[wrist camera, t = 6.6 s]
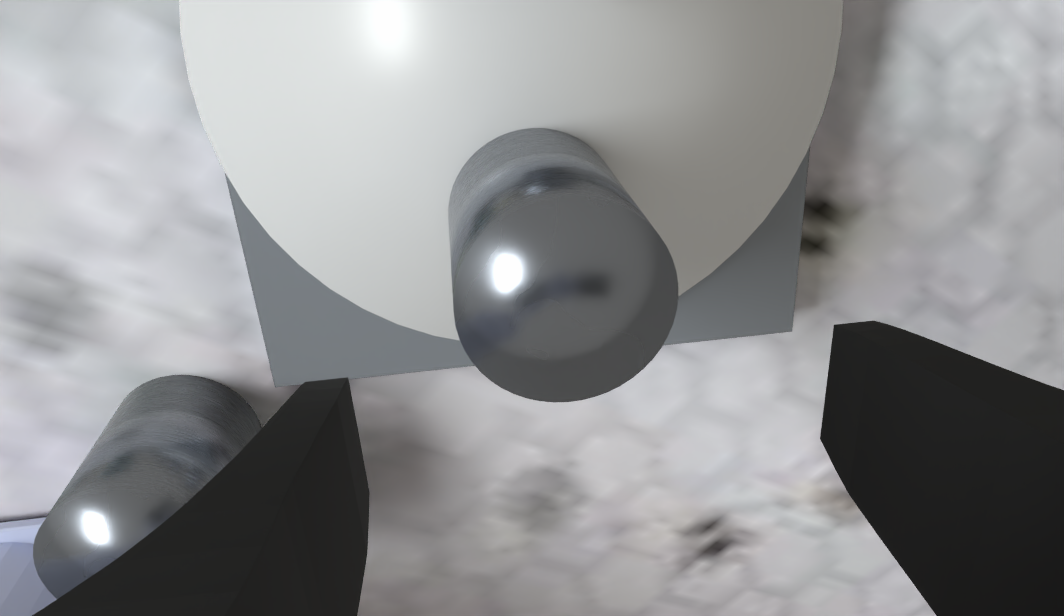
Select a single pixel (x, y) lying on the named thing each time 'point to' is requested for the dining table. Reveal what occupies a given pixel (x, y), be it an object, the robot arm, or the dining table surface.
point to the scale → (482, 115)
